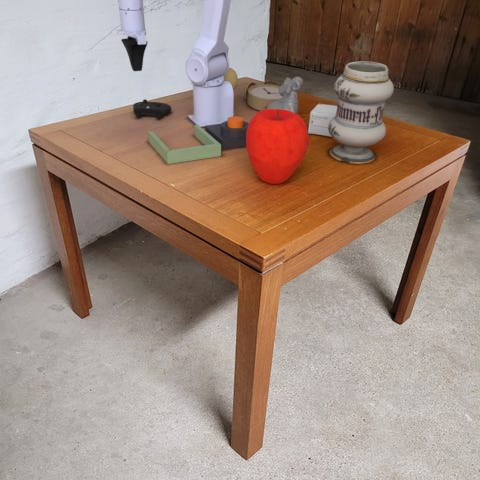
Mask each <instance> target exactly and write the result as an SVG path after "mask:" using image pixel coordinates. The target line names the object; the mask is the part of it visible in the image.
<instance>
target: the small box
mask: <svg viewBox="0 0 480 480" xmlns="http://www.w3.org/2000/svg"><path fill="white" fill-rule="evenodd" d="M336 111H337V105H335V104H334V105H332V104H325V103H318V104H316V106H315V107H314V108H312V110H311V111H310V113H309V120H308V121H309V122H308V127H307V130H308V133H309V135H311V134H312V135H318V136H324V137H330V138H332V137H331V135H330V134H329V131H328V125H329V123H330V121H331V120H332V119H333V118H334V117H335V116H336Z"/></svg>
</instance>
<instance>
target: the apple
mask: <svg viewBox="0 0 480 480" xmlns="http://www.w3.org/2000/svg"><path fill="white" fill-rule="evenodd" d="M298 114H299V113H298ZM298 114H296V113H294V112H291V111H287V110H282V109H264V110H258V112H256V113H255V114H254V116H253V117H251V118H252V119H251V120H250V121H249V122H248V123H249V125H248V128H247V131H246V147H245V148H246V152H247V155H248V159H249V162H250V164H251V166H252V168H253V170H254V172H255V173H256V175H257V176H258V178H259V179H260V181H262V182H264V183H266V184H270V185H280V184H283V183H284V182H286V181H288V180H289V179H290V177H292V175H293V174H294V173H295V172H296V170H297V169H298V167H300V166H299V165H300V164H301V163H302V162H303V160H304V157H305V155H306V153H307V151H308V148H309V145H310V133H308V126H307V124H306V122H305V121H304V119H303V117H302V116H300V114H299V115H298Z"/></svg>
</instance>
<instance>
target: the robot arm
mask: <svg viewBox="0 0 480 480" xmlns="http://www.w3.org/2000/svg"><path fill="white" fill-rule="evenodd" d="M117 2H118V11H119V18H120V19H119V22H120V29H116V34H117V35H122V36H127V37H126V38H121V43H122V44H123V46H124V49H125V51H126V53H127V56H128V59H129V63H130V67H131V70H132V71H133V72H142V71H143V65H144V55H145V51H146V49H147V47H148V44H149V43H148V40H147V29H146V24H145V23H146V22H145V11H144V0H118V1H117ZM231 2H232V0H204V4H203V10H202V17H201V25H200V30H199V36H198V38H197V39H196V41H195V42H194V44H193V45H192V46H191V50H190V55H189V57H188V58H187V60H186V62H185V73H186V75H187V78H188V79H189V81H190V82H191V85H192V100H193V101H192V103H193V114H190V115H188V116H187V118H188V119H189V120H190V121H192V122H193V123H194V125H199V126H200V127H201V128H205V126H207V125H215V124H221V123H223V122H225V121H227V119H228V118H229V117H232V116H234V114H235V113H234V112H235V110H234V109H235V108H234V103H235V94H234V91H233V88H232V85H231V83H230V82H229V81H224V75H226V73H227V72H228V69H229V68H230V60H229V51H230V50H229V49H230V48H229V45H228V44H227V43H226V42H225V41H224V40H225V36H226V30H227V25H228V19H229V13H230V7H231V4H232V3H231Z"/></svg>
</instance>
